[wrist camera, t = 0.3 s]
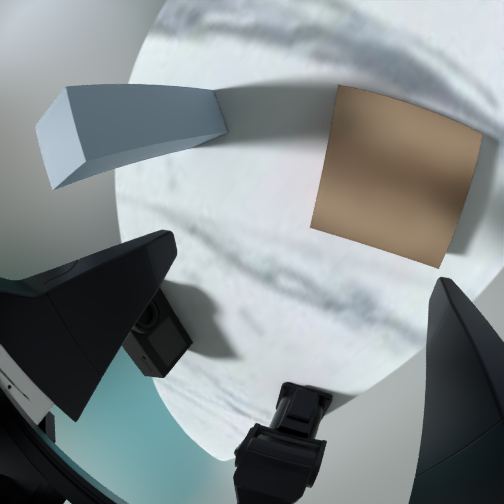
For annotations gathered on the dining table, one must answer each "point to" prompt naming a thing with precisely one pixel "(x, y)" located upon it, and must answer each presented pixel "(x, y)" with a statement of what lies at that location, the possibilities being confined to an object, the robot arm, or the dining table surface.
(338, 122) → the walnut block
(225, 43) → the dining table surface
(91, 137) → the slate pillar
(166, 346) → the digital camera
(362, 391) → the dining table surface
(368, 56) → the dining table surface
